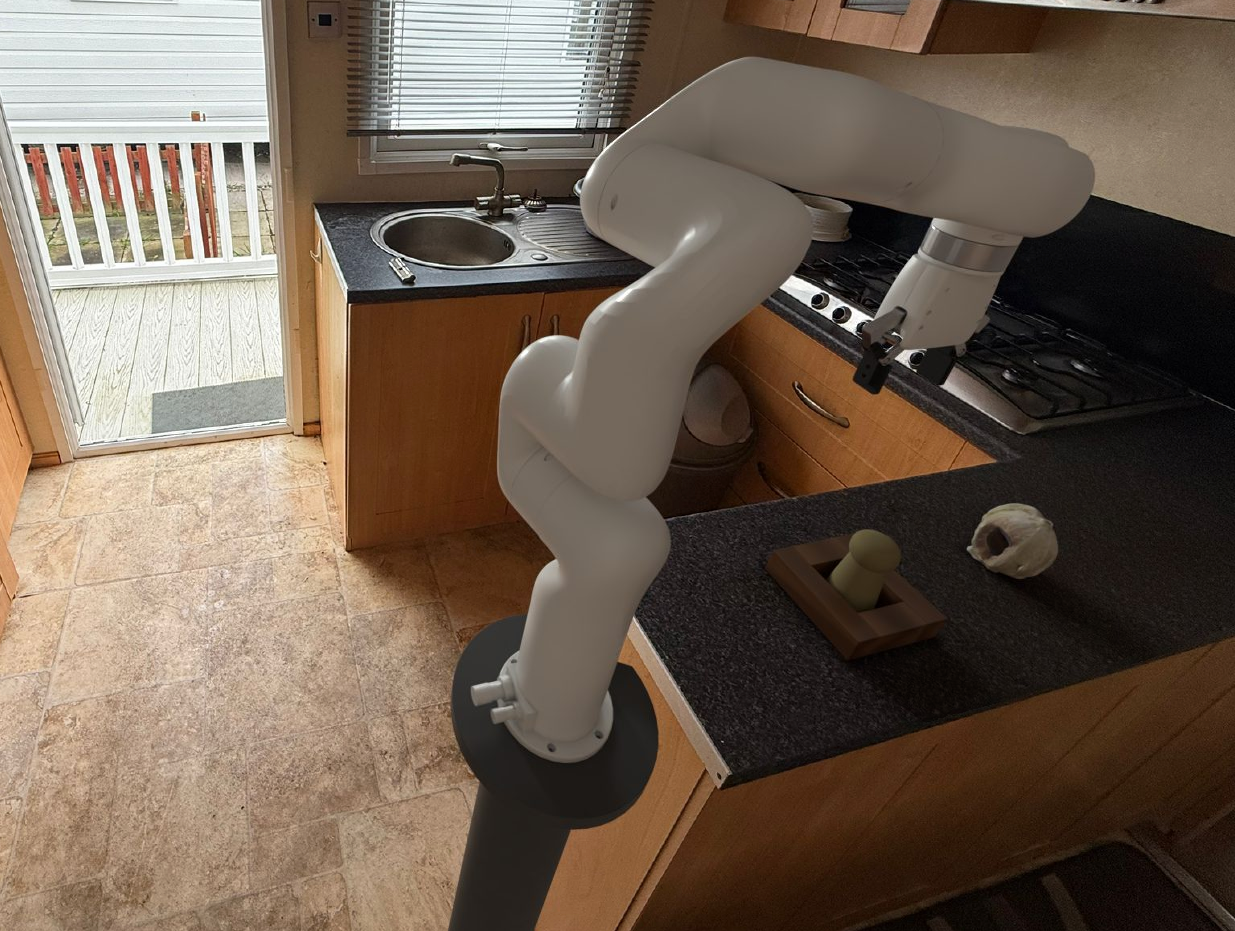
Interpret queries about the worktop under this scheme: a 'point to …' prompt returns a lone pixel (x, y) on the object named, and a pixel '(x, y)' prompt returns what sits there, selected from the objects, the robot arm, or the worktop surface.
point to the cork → (865, 569)
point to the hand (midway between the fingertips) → (897, 383)
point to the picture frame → (846, 629)
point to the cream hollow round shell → (1015, 541)
